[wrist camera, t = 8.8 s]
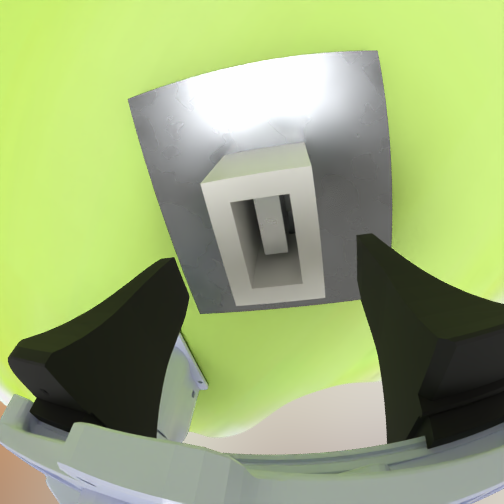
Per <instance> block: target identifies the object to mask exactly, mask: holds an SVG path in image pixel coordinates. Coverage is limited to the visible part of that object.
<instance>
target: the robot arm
mask: <svg viewBox="0 0 504 504" xmlns="http://www.w3.org/2000/svg"><path fill="white" fill-rule="evenodd" d="M356 243H357V282H358V287H359V292H360V297H361V302H362V305H363V308H364V311H365V314H366V317H367V320H368V323H369V326H370V330H371V333H372V336H373V339H374V343H375V346H376V350H377V354H378V359H379V365H380V371H381V377H382V385H383V393H384V402H385V414H386V429H387V444H385V445H379V446H373V447H367V448H360V449H353V450H345V451H336V452H325V453H311V454H288V455H252V454H230V453H220V452H217V451H214V450H211V449H208V448H206V447H200V446H195V445H190V444H186V443H182V442H183V441H184V439H185V438H186V436H187V434H188V431H189V427H190V424H191V420H192V416H193V412H194V408H195V405H196V401H197V397H198V393H199V390H206V389H208V384H207V382H206V380H205V378H204V377H203V375H202V373H201V371H200V369H199V367H198V366H197V364H196V362H195V360H194V358H193V356H192V354H191V352H190V351H189V349H188V347H187V345H186V343H185V341H184V339H183V337H182V335H181V333H180V330H181V327H182V324H183V322H184V319H185V315H186V311H187V307H188V301H189V294H188V291H187V289H186V286H185V284H184V281H183V279H182V276H181V274H180V271H179V269H178V266H177V263H176V261H175V258H174V257H172V258H164V259H160V260H159V261H157V262H155V263H154V264H152V265H151V266H149V267H148V268H147V269H145V270H144V271H143V272H142V273H140V274H139V275H138V276H136V277H135V278H134V279H132V280H131V281H130V282H129V283H127V284H126V285H125V286H123V287H122V288H121V289H119V290H118V291H117V292H115V293H114V294H113V295H111V296H110V297H109V298H107V299H106V300H104V301H103V302H101V303H100V304H98V305H97V306H95V307H94V308H92V309H90V310H89V311H87V312H86V313H84V314H82V315H80V316H78V317H76V318H74V319H73V320H71V321H69V322H67V323H65V324H63V325H60V326H58V327H56V328H54V329H51V330H49V331H46V332H44V333H41V334H38V335H35V336H32V337H29V338H26V339H23V340H21V341H20V342H19V343H18V344H17V346H16V347H15V348H14V350H13V351H12V353H11V354H10V356H9V357H8V363H9V366H10V368H11V369H12V371H13V373H14V374H15V375H16V376H17V377H18V379H19V380H20V381H21V382H22V383H23V384H24V385H25V386H26V387H27V388H28V389H29V390H30V391H31V392H32V394H33V395H34V396H35V397H37V398H36V400H35V402H34V403H33V402H32V401H30V400H29V399H27V398H25V397H22V396H20V395H17V394H14V395H13V397H12V399H11V401H10V402H9V404H8V406H7V408H6V410H5V411H4V413H3V415H2V417H1V419H0V444H1V445H3V446H4V447H5V448H7V449H8V450H9V451H11V452H12V453H13V454H15V455H16V456H17V457H19V458H20V459H22V460H23V461H24V462H26V463H27V464H29V465H30V466H32V467H34V468H35V469H37V470H39V471H40V472H42V473H44V474H45V476H46V477H47V478H46V483H47V485H48V487H49V488H50V490H51V492H52V493H53V494H54V496H55V497H56V499H57V500H58V502H59V503H60V504H472V503H474V502H477V501H479V500H481V499H483V498H486V497H488V496H490V495H492V494H494V493H496V492H498V491H500V490H502V489H504V304H501V303H497V302H493V301H490V300H487V299H484V298H481V297H478V296H475V295H472V294H470V293H467V292H465V291H462V290H460V289H458V288H456V287H453V286H451V285H449V284H447V283H445V282H443V281H441V280H439V279H437V278H435V277H434V276H432V275H430V274H428V273H427V272H425V271H423V270H422V269H420V268H419V267H417V266H416V265H414V264H413V263H411V262H410V261H408V260H407V259H405V258H404V257H402V256H401V255H400V254H398V253H397V252H396V251H394V250H393V249H392V248H391V247H389V246H388V245H387V244H385V243H384V242H383V241H382V240H380V239H379V238H378V237H376V236H375V235H374V234H372V233H369V234H361V235H356Z"/></svg>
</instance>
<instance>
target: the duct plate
mask: <svg viewBox="0 0 504 504" xmlns="http://www.w3.org/2000/svg"><path fill="white" fill-rule="evenodd" d="M128 102H129V106H130V110H131V113H132V117H133V121H134V124H135V128H136V132H137V135H138V139H139V142H140V145H141V149H142V152H143V156H144V159H145V162H146V165H147V169H148V172H149V175H150V178H151V181H152V184H153V188H154V191H155V194H156V197H157V200H158V203H159V206H160V209H161V212H162V214H163V217H164V220H165V223H166V226H167V229H168V232H169V234H170V237H171V240H172V243H173V246H174V248H175V251H176V254H177V256H178V259H179V262H180V264H181V267H182V270H183V272H184V275H185V277H186V280H187V283H188V285H189V288H190V290H191V293H192V295H193V298H194V300H195V303H196V305H197V307H198V310H199V312H200V314H209V313H225V312H240V311H254V310H266V309H278V308H289V307H299V306H309V305H318V304H327V303H336V302H344V301H352V300H360V299H361V297H360V292H359V287H358V282H357V243H356V235H361V234H369V233H372V234H374V235H375V236H376V237H378V238H379V239H380V240H382V241H383V242H384V243H385V244H387V245H388V246H389V247H391V241H392V175H391V154H390V140H389V128H388V118H387V109H386V101H385V93H384V86H383V80H382V73H381V67H380V62H379V56H378V51H345V52H329V53H318V54H308V55H299V56H291V57H284V58H277V59H271V60H265V61H260V62H254V63H249V64H244V65H239V66H235V67H230V68H226V69H222V70H218V71H214V72H210V73H206V74H202V75H199V76H195V77H191V78H188V79H185V80H181V81H178V82H175V83H172V84H169V85H166V86H163V87H160V88H157V89H154V90H151V91H148V92H145V93H143V94H140V95H137V96H135V97H132V98H130V99H128ZM301 142H304V143H305V146H306V150H307V153H308V156H309V159H310V163H311V166H312V173H313V181H314V188H315V196H316V204H317V212H318V221H319V230H320V240H321V250H322V261H323V273H324V285H325V298H319V299H310V300H300V301H290V302H279V303H268V304H257V305H244V306H236V303H235V300H234V297H233V294H232V291H231V287H230V284H229V281H228V277H227V274H226V271H225V268H224V264H223V261H222V258H221V254H220V251H219V247H218V244H217V241H216V237H215V234H214V230H213V227H212V223H211V220H210V216H209V213H208V209H207V206H206V202H205V199H204V195H203V192H202V188H201V182H202V181H203V180H204V179H205V177H206V176H207V175H208V174H209V173H210V171H211V170H212V169H213V168H214V167H215V165H216V164H217V163H218V162H219V161H220V160H221V158H222V157H223V156H224V155H227V154H232V153H238V152H243V151H249V150H255V149H261V148H267V147H273V146H280V145H286V144H293V143H301ZM253 204H254V208H255V213H256V218H257V222H258V227H259V232H260V236H261V238H262V242H263V247H264V252H265V255H268V254H277V253H286V252H288V241H289V234H294V233H296V232H295V226H294V219H293V213H292V206H291V200H290V194H284V195H276V196H269V197H262V198H256V199H253Z"/></svg>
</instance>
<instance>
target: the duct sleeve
mask: <svg viewBox="0 0 504 504" xmlns="http://www.w3.org/2000/svg"><path fill="white" fill-rule="evenodd" d="M201 188H202V192H203V195H204V199H205V202H206V206H207V209H208V213H209V216H210V220H211V223H212V227H213V230H214V234H215V237H216V241H217V244H218V247H219V251H220V254H221V258H222V261H223V264H224V268H225V271H226V274H227V277H228V281H229V284H230V287H231V291H232V294H233V297H234V300H235V303H236V306H244V305H257V304H268V303H279V302H290V301H300V300H310V299H319V298H325V285H324V273H323V261H322V250H321V240H320V230H319V221H318V212H317V204H316V196H315V188H314V181H313V173H312V166H311V163H310V159H309V156H308V153H307V150H306V146H305V143H304V142H301V143H293V144H286V145H280V146H273V147H267V148H261V149H255V150H249V151H243V152H238V153H232V154H227V155H224V156H223V157H222V158H221V160H220V161H219V162H218V163H217V164H216V165H215V167H214V168H213V169H212V170H211V171H210V173H209V174H208V175H207V176H206V177H205V179H204V180H203V181H202V182H201ZM284 194H290V200H291V206H292V213H293V219H294V226H295V232H296V233H294V234H289V241H288V252H286V253H277V254H268V255H265V252H264V247H263V242H262V238H261V236H260V232H259V227H258V222H257V218H256V213H255V208H254V204H253V199H256V198H262V197H269V196H276V195H284Z"/></svg>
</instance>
